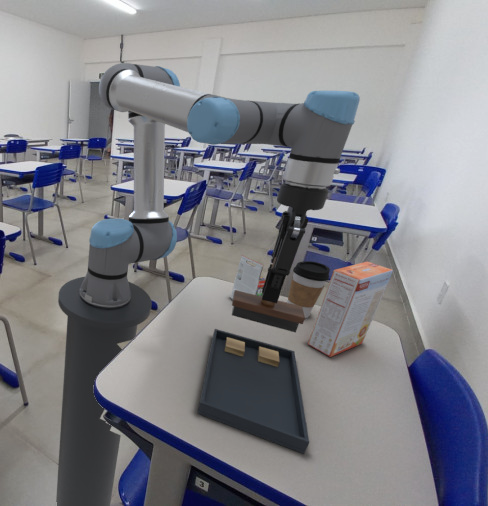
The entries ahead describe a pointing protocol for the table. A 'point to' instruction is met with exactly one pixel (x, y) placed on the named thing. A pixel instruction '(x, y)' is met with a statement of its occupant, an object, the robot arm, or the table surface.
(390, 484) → the table surface
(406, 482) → the table surface
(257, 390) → the tray
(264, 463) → the table surface
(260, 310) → the brush
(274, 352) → the chip
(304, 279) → the coffee cup
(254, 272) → the ink box
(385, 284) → the cracker box
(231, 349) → the tan square block
